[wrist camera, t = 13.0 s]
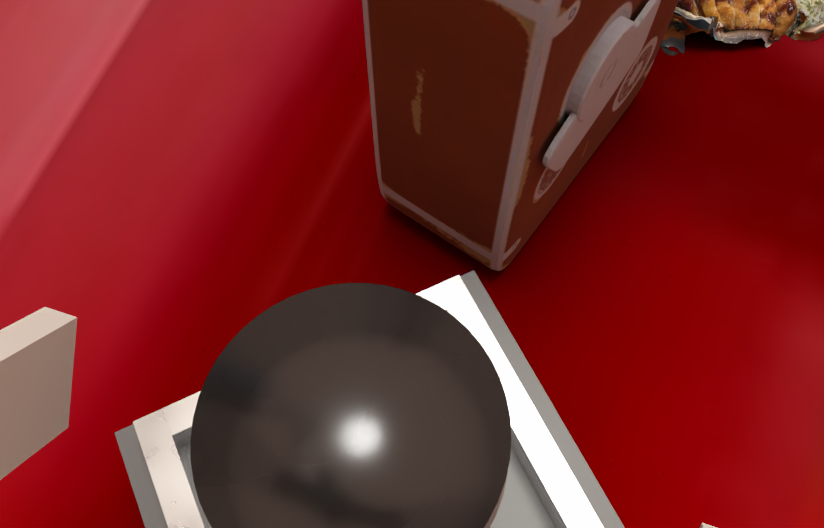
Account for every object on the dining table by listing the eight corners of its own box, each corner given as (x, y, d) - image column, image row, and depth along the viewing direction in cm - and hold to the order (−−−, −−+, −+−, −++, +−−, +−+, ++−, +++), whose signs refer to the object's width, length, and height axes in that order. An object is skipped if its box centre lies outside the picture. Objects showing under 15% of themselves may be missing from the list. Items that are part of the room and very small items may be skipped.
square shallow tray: (283, 809, 27) (249, 851, 21) (165, 467, 32) (114, 432, 27) (624, 613, 29) (671, 607, 24) (465, 328, 35) (474, 270, 29)
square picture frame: (276, 812, 22) (267, 823, 20) (147, 432, 27) (132, 421, 25) (635, 607, 24) (648, 605, 23) (456, 291, 29) (458, 274, 27)
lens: (329, 661, 23) (256, 679, 13) (256, 475, 26) (141, 356, 15) (508, 565, 25) (579, 506, 14) (421, 395, 27) (425, 233, 16)
